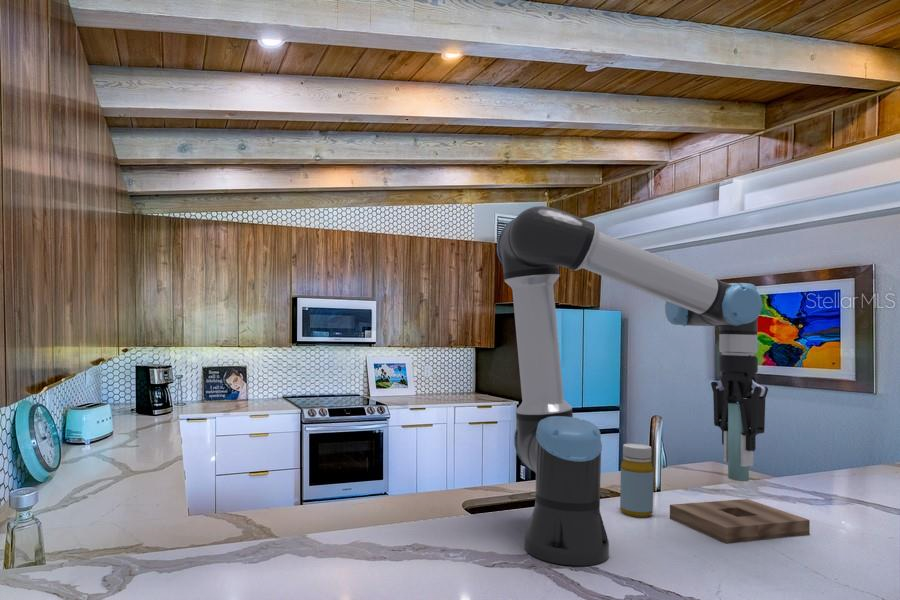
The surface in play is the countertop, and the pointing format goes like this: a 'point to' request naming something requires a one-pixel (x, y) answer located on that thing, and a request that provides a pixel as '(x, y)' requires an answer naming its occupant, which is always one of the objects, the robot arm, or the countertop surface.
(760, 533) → the bore block
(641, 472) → the bottle
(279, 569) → the countertop surface
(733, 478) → the pin
